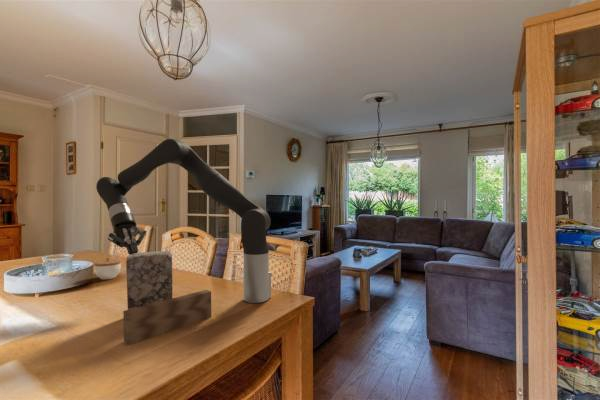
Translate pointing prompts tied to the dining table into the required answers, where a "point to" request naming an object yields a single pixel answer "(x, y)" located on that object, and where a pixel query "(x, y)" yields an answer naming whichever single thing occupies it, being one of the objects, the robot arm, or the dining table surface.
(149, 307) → the stop bar
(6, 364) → the dining table surface
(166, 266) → the stone block
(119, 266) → the lidded jar
